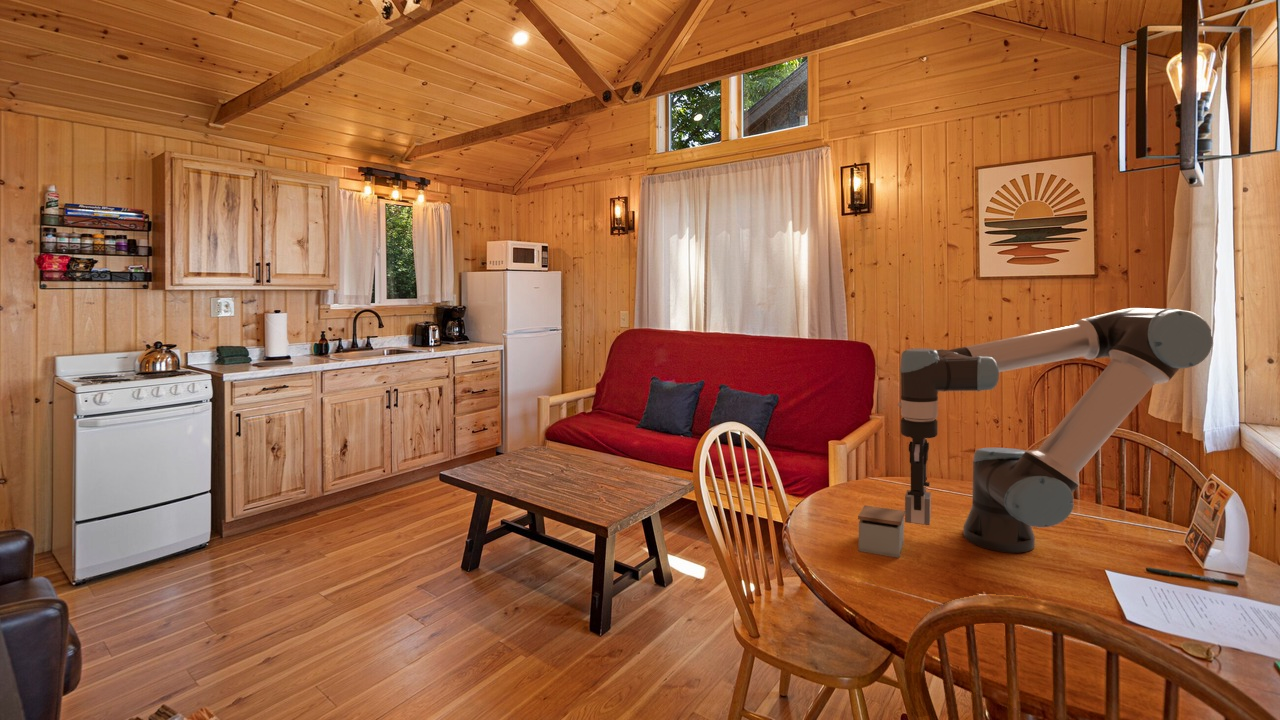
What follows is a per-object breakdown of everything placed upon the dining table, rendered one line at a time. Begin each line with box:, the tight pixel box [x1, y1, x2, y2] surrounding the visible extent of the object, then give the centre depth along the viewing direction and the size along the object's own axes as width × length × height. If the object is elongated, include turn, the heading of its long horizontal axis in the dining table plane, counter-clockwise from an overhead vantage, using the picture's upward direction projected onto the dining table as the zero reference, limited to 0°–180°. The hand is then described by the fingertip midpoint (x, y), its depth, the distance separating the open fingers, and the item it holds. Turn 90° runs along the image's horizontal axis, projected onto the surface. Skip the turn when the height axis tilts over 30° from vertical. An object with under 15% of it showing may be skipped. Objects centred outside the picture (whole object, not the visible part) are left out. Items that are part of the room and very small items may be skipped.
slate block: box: [904, 489, 932, 526], centre depth 138 cm, size 5×5×6 cm
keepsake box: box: [857, 517, 905, 559], centre depth 147 cm, size 9×10×7 cm
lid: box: [857, 505, 905, 525], centre depth 147 cm, size 9×10×1 cm
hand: (918, 518), depth 138 cm, fingers closed on slate block, 5 cm apart
